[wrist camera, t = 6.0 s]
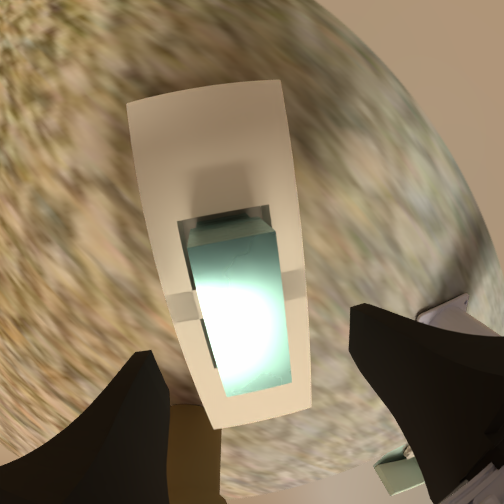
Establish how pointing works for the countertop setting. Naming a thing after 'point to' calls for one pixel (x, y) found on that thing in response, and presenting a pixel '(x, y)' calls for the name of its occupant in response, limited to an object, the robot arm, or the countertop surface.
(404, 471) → the right angle wall
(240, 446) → the countertop surface
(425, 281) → the countertop surface
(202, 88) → the rail
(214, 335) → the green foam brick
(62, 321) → the countertop surface
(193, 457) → the cork
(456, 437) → the robot arm
